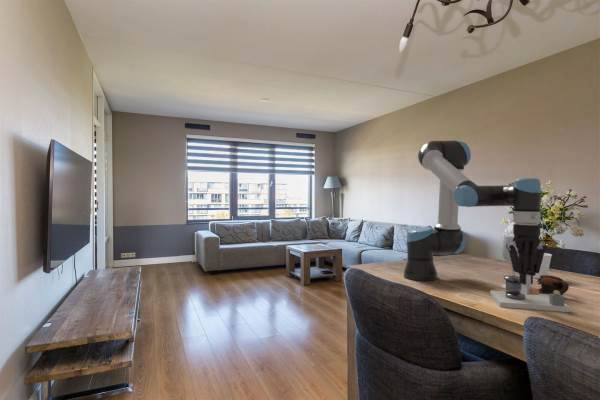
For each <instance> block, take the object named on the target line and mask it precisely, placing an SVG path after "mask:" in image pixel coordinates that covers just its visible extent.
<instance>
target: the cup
mask: <svg viewBox="0 0 600 400" xmlns="http://www.w3.org/2000/svg"><path fill="white" fill-rule="evenodd" d="M552 257H553V254H551V253H546V252H544V256H543V260H542V264H541V267H540V271H539V273H535V274H536V275H535V276H533V279H537V280H539V279H540V276H542V275H549V270H550V265H551V259H552Z"/></svg>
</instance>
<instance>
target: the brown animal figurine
mask: <svg viewBox="0 0 600 400" xmlns="http://www.w3.org/2000/svg"><path fill="white" fill-rule="evenodd" d="M536 282H537V285H540V288H538V289H539V294H553V291H555V290H558V291H559V292H560V294H561V295H562V296H564V294H565V293H567V292H568V291H569V287H570V286H569V284H568V283H567V282H565V281H564V280H563V278H560V277H558V276H554V275H549V274H548V275H542V276H540V279H537V280H536Z"/></svg>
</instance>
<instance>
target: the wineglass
mask: <svg viewBox="0 0 600 400" xmlns="http://www.w3.org/2000/svg"><path fill="white" fill-rule="evenodd" d="M513 239H514V236H504V237H503V239H502V242H501V256H502V258H503V259H504V260H505V262H507V263H508V264H510V267H511V276H516V274H515V273H516V272H514V270H513V266H512V262H511V258H510V254H509V251H508V249H507V248H506V244H511V243H512V242H513ZM516 251H517V254H518V249H517V247H516ZM518 258H519V254H518ZM501 288H502V289H505V290H506V283H504V284H502V285H501ZM520 292H521V290H520Z"/></svg>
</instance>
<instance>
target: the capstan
mask: <svg viewBox="0 0 600 400" xmlns="http://www.w3.org/2000/svg"><path fill="white" fill-rule="evenodd" d="M503 279H504V280H505V284H506V289H505V291H506V293H505V295H506V297H508V298H512V299H525V294H522V293H520V292H521V291H520V290H521V286H522V284H521V283H520V276H517V275H515V276H512V274H511V275H503ZM539 289H540V288H537V287H532V286H531V288H530V294H532V295H539Z"/></svg>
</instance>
